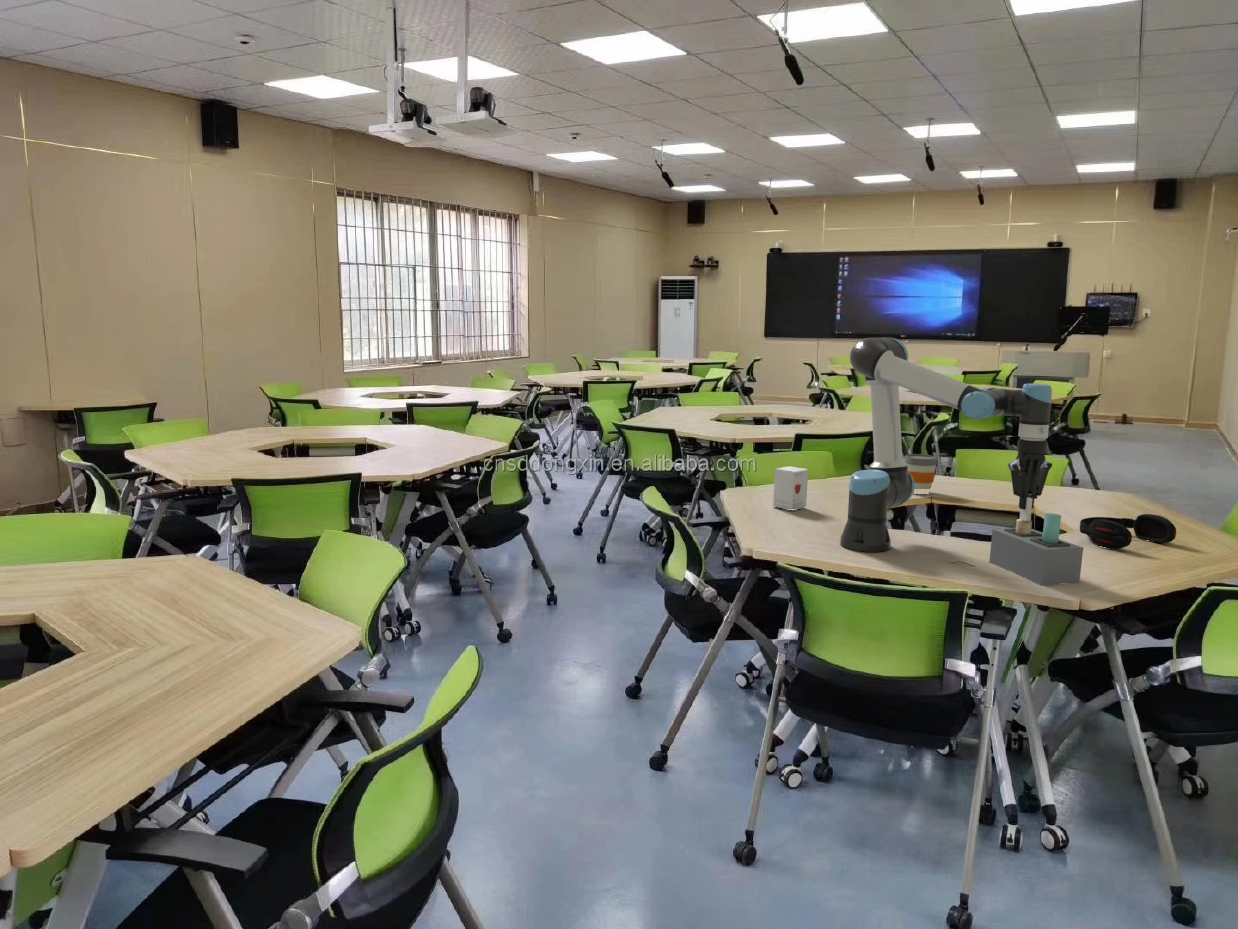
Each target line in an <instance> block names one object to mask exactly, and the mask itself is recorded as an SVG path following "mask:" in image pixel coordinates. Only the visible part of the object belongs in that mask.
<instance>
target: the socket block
mask: <svg viewBox="0 0 1238 929" xmlns="http://www.w3.org/2000/svg"><path fill="white" fill-rule="evenodd" d="M1042 537H1043V531H1042V532H1041V531H1039V530H1036V529H1033V528H1031V534H1020V533H1017V532H1016V527H1014V528H994V529H992V531H991V541H990V551H989V553H990V554H989V560H988V561H989V563H991V564H992V565H995V564H996V565H995V566H997V565H998V566H997V567H999V566H1000V568H1001V567H1002V569H1004V570H1005V571H1008V570H1010V571H1012V572H1014V573H1013V574H1015V573H1016V574H1015V575H1017V574H1018V575H1017V576H1019V575H1020V576H1019V577H1021V576H1022V577H1021V578H1024V577H1025V578H1024V579H1026V578H1027V579H1026V580H1028V579H1029V580H1028V581H1031V582H1033V583H1035V584H1037V583H1038V585H1039V584H1040V585H1039V586H1054V585H1053V584H1056V585H1063V584H1062V583H1072V584H1080V581H1081V580H1080V579H1081V572H1082V564H1083V563H1082V562H1083V555H1084V554H1083V553H1084V547H1083V546H1080V545H1077V544H1074V543H1072V542H1068V541H1066V540H1064V539H1060V538H1059V540H1058V544H1046V543H1044V542H1042ZM1010 571H1009V572H1010ZM1012 572H1011V573H1012ZM1060 583H1061V584H1060Z"/></svg>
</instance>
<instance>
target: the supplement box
mask: <svg viewBox="0 0 1238 929" xmlns="http://www.w3.org/2000/svg"><path fill="white" fill-rule="evenodd" d="M774 471H775V472H774V484H773V485H774V486H773V487H774V488H773V504H772V507H773V506H776V507H780V508H784V509H800V508H804V507H806V508H807V500H808V499H807V498H808V481H809V469H807V468H802V467H801V468H800V467H796V466H782V467H777V468H775V470H774Z"/></svg>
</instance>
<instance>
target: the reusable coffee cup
mask: <svg viewBox="0 0 1238 929" xmlns="http://www.w3.org/2000/svg"><path fill="white" fill-rule="evenodd" d="M904 461H905V462H906V463H907V465H908V472H909V474H910V475H912V477H913V479H914V484H915V488H914V489H930V488H931V489H932V484H933V483H934V481H935V477H936V476H935V475H936V467H937V465H938V459H937V457H936V456H935V455H929V454H922V453H921V454H919V453H910V454H906V455H905V457H904Z"/></svg>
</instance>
